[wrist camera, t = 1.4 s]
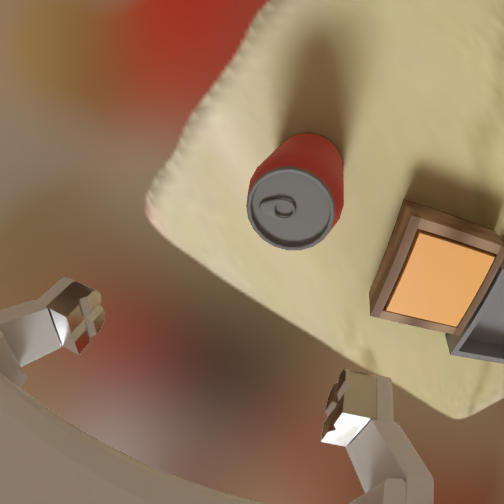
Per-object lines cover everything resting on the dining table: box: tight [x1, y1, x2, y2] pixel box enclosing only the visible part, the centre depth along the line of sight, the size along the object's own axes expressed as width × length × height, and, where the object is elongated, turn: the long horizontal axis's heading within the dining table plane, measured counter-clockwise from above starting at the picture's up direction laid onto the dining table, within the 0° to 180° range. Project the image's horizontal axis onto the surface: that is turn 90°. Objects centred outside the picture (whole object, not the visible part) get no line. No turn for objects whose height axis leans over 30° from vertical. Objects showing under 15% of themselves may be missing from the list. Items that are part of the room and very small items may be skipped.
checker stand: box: [369, 200, 504, 336], centre depth 29 cm, size 12×12×4 cm
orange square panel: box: [386, 228, 495, 327], centre depth 27 cm, size 9×9×1 cm
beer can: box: [246, 133, 344, 250], centre depth 24 cm, size 7×7×12 cm
